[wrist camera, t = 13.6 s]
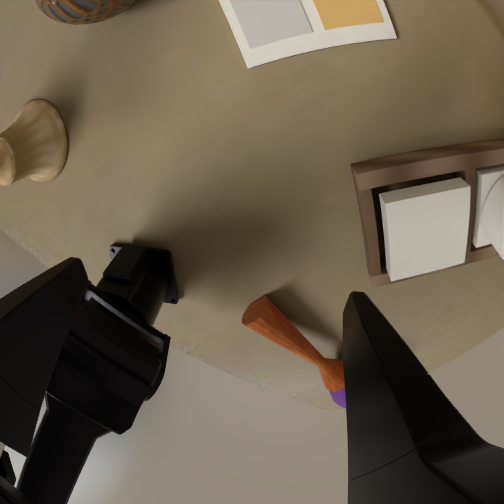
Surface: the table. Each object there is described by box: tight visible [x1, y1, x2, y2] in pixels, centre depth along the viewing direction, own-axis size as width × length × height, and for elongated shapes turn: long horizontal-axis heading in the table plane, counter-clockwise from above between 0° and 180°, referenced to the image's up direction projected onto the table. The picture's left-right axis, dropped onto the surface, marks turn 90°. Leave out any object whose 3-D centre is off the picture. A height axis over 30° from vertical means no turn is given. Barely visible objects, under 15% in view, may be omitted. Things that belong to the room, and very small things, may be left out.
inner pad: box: [379, 178, 471, 281], centre depth 17 cm, size 7×7×2 cm
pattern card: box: [219, 0, 397, 68], centre depth 12 cm, size 10×6×1 cm, turn 110°
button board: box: [351, 139, 504, 287], centre depth 18 cm, size 18×10×2 cm, turn 110°
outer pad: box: [472, 164, 504, 248], centre depth 16 cm, size 7×7×2 cm
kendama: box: [242, 295, 346, 408], centre depth 29 cm, size 6×6×20 cm
